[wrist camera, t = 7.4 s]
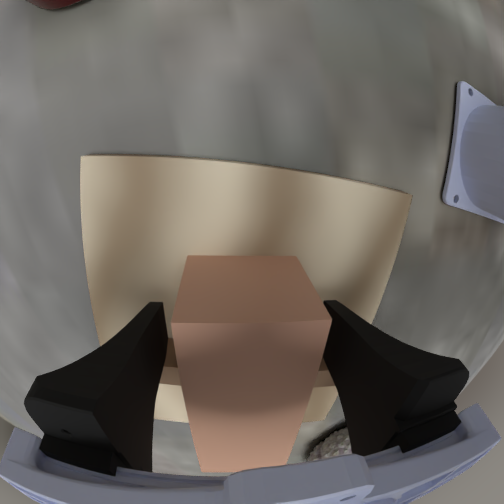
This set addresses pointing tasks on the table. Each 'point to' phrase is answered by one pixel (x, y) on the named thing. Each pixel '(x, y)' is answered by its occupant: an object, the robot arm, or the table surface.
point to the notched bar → (247, 356)
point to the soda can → (53, 3)
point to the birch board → (229, 237)
